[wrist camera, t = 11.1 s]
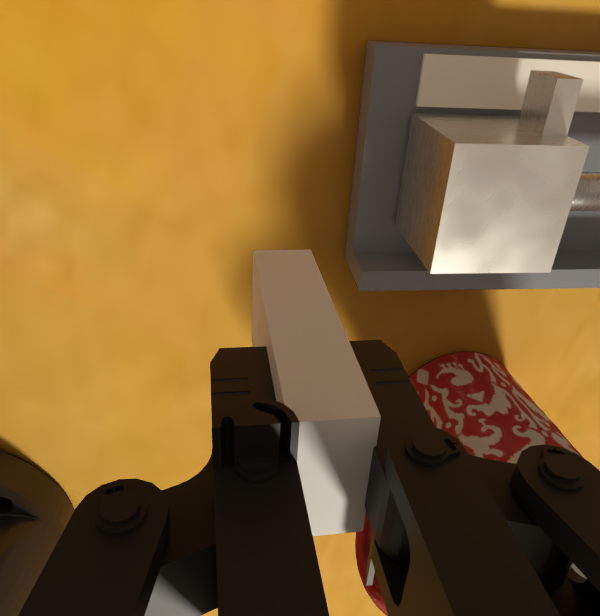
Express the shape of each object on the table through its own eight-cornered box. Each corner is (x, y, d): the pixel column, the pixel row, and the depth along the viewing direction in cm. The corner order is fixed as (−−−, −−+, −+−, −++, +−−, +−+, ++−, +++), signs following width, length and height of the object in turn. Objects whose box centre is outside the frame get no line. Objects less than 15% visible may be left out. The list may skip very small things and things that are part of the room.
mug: (522, 317, 32) (695, 511, 20) (527, 429, 37) (670, 638, 25) (308, 377, 32) (359, 602, 21) (340, 481, 37) (397, 711, 25)
